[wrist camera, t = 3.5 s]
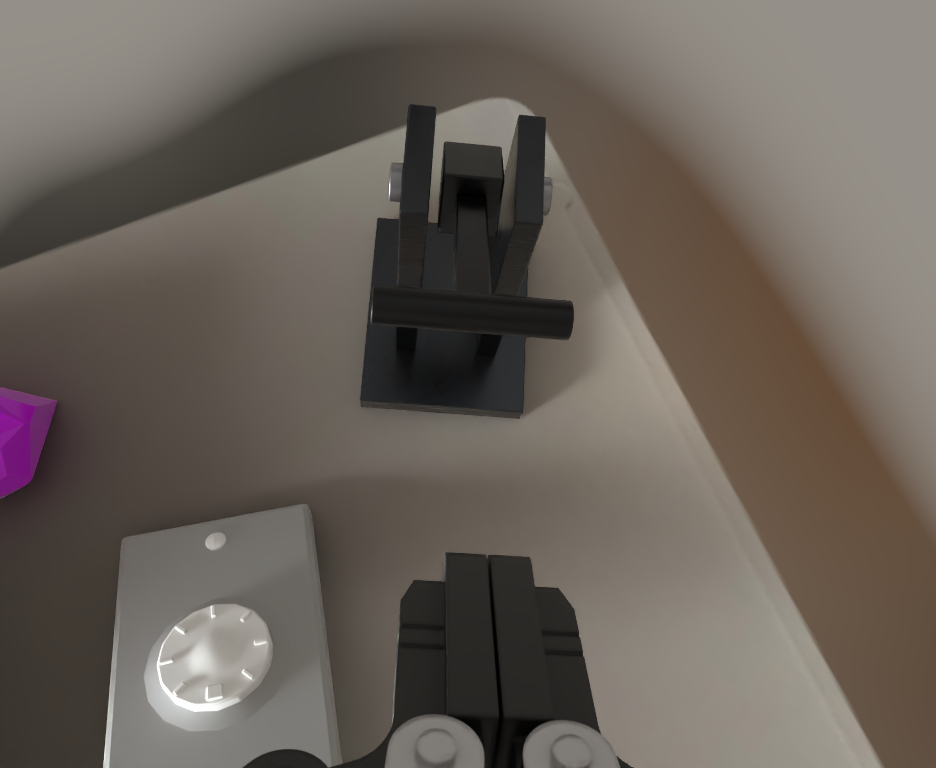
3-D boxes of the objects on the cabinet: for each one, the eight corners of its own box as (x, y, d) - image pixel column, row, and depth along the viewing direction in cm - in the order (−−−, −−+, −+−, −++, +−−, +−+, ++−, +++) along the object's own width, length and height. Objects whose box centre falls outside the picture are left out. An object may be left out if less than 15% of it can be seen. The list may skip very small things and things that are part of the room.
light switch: (305, 488, 39) (344, 814, 29) (323, 561, 43) (362, 869, 33) (113, 523, 38) (82, 878, 27) (150, 596, 42) (135, 928, 31)
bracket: (519, 418, 43) (585, 301, 29) (360, 406, 42) (348, 281, 28) (525, 241, 46) (587, 57, 32) (377, 228, 45) (373, 34, 31)
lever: (564, 363, 26) (580, 299, 24) (369, 348, 25) (371, 281, 24) (541, 207, 34) (551, 150, 32) (390, 193, 33) (393, 135, 32)
